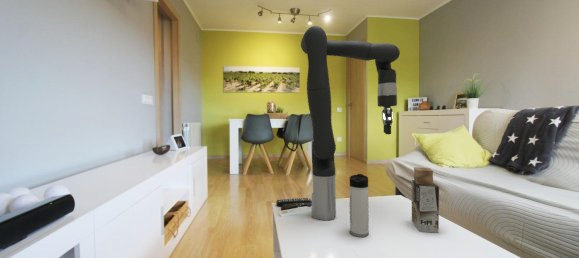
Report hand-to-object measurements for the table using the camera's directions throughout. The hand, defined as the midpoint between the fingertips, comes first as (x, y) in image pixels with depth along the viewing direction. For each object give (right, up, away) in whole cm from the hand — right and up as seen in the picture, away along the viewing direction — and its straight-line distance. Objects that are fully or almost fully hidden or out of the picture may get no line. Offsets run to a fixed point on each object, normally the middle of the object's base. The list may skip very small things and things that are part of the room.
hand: (387, 133), depth 99 cm
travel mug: (-17, -34, -17) cm, 42 cm away
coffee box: (+8, -34, -13) cm, 37 cm away
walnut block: (+7, -18, -14) cm, 24 cm away
